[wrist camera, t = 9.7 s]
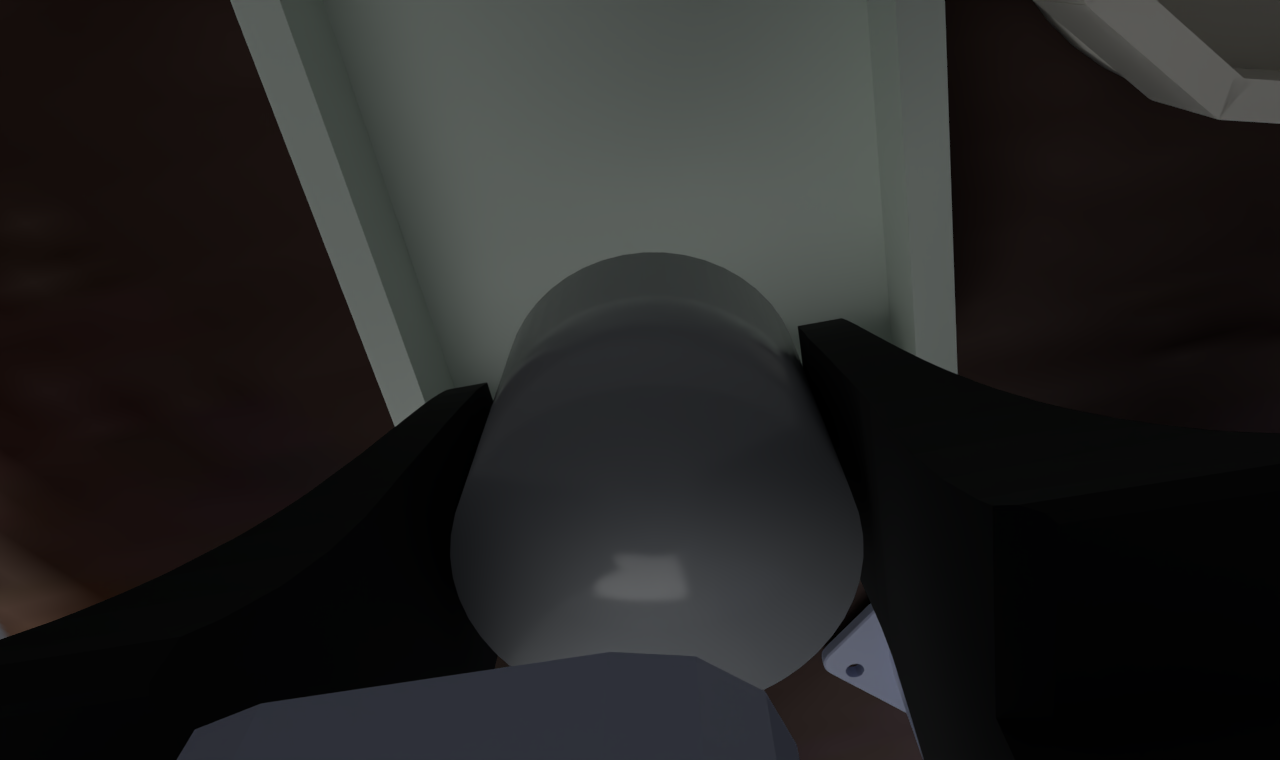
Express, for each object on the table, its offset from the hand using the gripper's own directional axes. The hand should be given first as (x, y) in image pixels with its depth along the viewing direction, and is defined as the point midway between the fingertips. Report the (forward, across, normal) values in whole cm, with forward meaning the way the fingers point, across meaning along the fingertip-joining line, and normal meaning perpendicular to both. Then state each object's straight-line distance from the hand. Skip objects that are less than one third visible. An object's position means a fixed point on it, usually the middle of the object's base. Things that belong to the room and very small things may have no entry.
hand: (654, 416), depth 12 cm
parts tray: (+8, 0, -3) cm, 8 cm away
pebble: (+1, 0, 0) cm, 1 cm away
